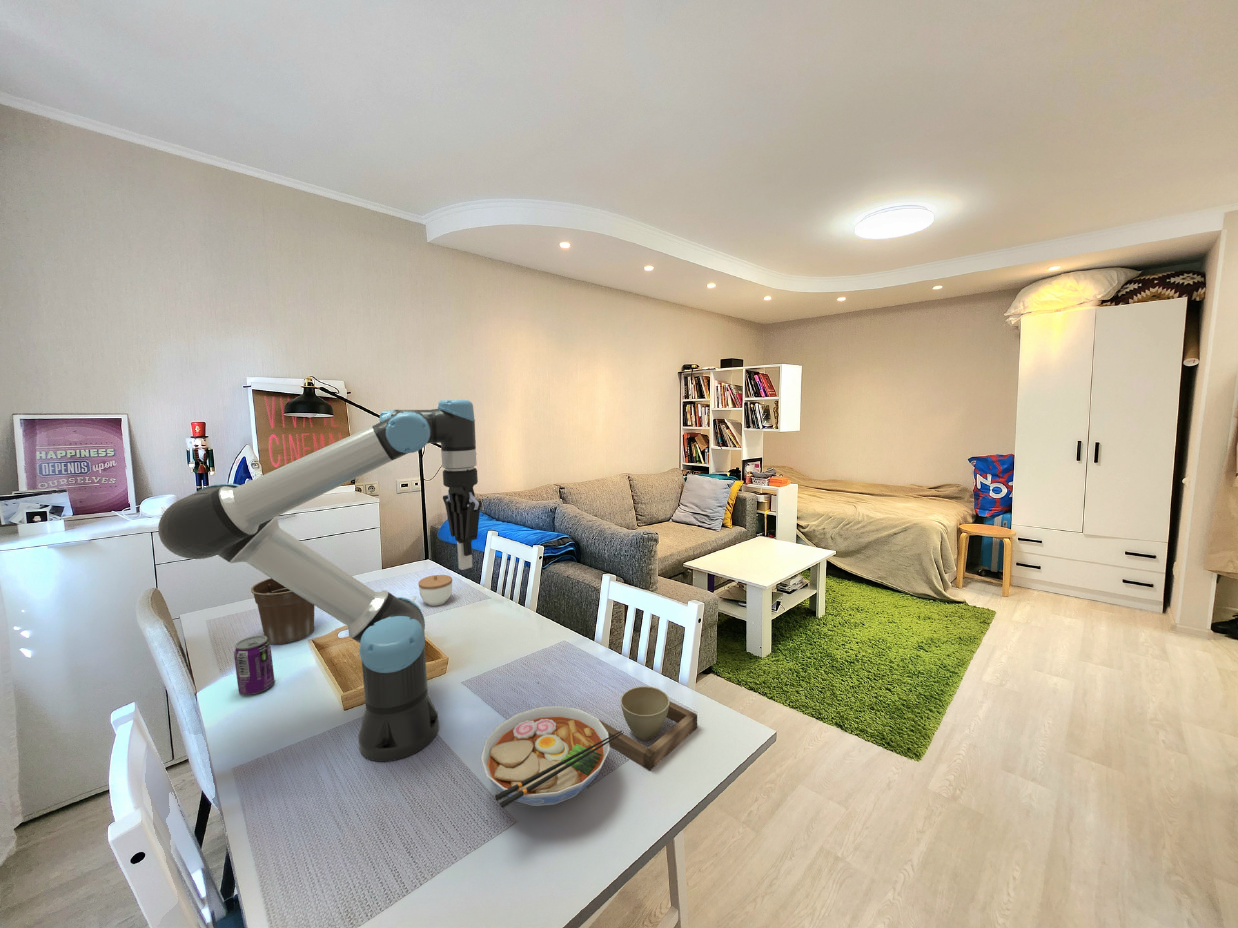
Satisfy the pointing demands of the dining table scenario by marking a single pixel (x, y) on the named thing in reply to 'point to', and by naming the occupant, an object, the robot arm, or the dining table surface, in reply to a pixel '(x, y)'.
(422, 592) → the lidded jar
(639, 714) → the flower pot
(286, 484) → the robot arm
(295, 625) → the plant pot
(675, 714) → the walnut bay
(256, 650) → the beverage can
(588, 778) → the ramen bowl
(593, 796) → the dining table surface
